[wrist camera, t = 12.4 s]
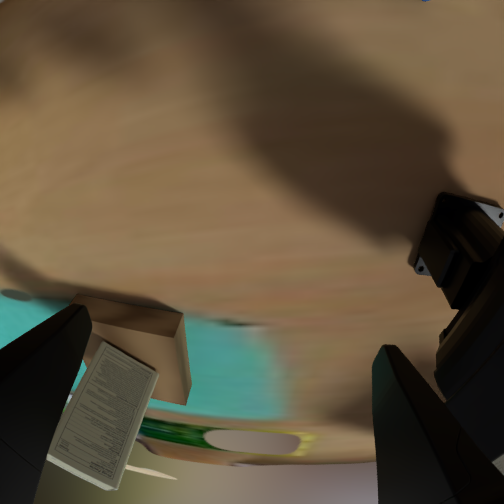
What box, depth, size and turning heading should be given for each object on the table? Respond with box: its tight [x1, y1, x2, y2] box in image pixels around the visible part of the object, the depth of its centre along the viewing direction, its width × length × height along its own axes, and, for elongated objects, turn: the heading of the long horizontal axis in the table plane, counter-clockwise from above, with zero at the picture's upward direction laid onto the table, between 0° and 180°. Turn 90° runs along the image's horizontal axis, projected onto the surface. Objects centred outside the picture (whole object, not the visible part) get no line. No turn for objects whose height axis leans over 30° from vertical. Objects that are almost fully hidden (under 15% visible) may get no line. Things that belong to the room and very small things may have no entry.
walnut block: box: [69, 294, 192, 406], centre depth 29 cm, size 11×11×4 cm
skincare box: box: [46, 341, 159, 491], centre depth 22 cm, size 6×4×12 cm
